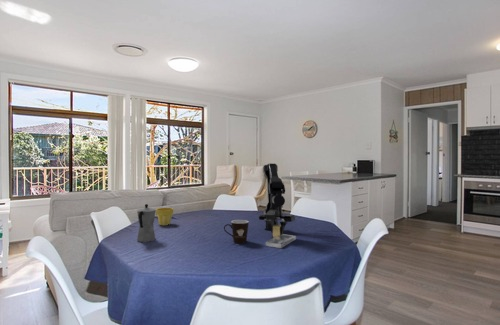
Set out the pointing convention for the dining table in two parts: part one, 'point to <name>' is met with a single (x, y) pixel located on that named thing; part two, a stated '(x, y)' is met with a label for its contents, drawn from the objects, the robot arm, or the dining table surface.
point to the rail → (280, 240)
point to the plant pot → (164, 215)
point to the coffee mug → (239, 230)
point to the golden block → (276, 230)
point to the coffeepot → (146, 224)
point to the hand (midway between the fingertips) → (277, 233)
